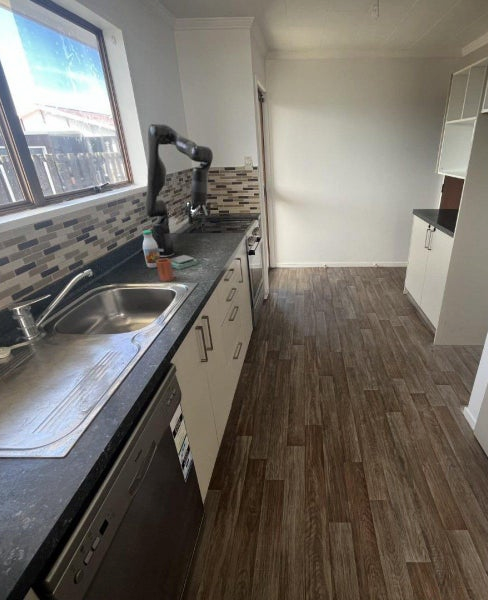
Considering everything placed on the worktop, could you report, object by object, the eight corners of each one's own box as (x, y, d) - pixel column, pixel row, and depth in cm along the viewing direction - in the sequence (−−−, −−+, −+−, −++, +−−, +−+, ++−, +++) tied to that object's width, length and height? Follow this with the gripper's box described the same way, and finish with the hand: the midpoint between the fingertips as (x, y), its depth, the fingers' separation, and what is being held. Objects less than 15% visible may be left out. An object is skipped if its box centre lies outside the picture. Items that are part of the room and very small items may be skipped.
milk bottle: (144, 267, 184) (135, 232, 176) (154, 263, 191) (147, 228, 182) (154, 268, 181) (146, 233, 173) (164, 264, 188) (157, 229, 179)
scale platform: (169, 260, 186) (168, 259, 185) (184, 255, 193) (184, 254, 192) (178, 263, 180) (178, 262, 180) (194, 259, 187) (194, 258, 187)
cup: (157, 279, 166) (153, 261, 162) (169, 276, 171) (165, 257, 167) (164, 282, 163) (160, 263, 158) (176, 278, 167) (172, 260, 163)
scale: (167, 265, 187) (166, 260, 185) (185, 259, 195) (185, 255, 194) (179, 269, 180) (178, 264, 179) (197, 263, 188) (197, 259, 187)
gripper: (204, 188, 167) (202, 220, 174) (182, 188, 155) (181, 222, 162) (215, 192, 164) (213, 224, 171) (193, 192, 152) (191, 226, 159)
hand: (197, 223), depth 166 cm, fingers open, 8 cm apart
